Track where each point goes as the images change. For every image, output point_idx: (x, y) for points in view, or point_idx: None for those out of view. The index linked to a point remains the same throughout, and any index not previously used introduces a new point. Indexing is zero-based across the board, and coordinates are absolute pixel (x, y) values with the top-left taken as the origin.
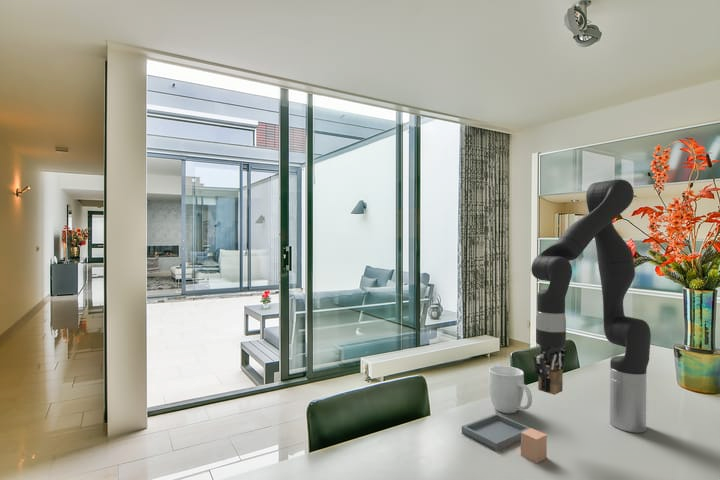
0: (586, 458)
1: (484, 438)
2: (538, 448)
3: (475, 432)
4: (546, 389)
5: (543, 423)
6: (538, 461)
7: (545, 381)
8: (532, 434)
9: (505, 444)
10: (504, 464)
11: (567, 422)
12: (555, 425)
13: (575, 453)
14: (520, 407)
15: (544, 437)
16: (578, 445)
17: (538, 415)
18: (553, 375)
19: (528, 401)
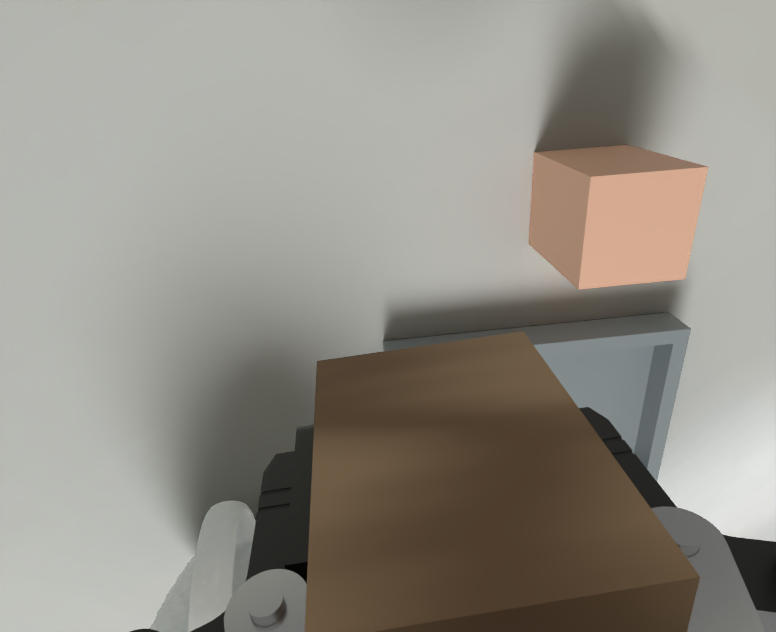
0: (343, 16)
1: (673, 388)
2: (650, 158)
3: (661, 439)
4: (599, 415)
5: (203, 395)
6: (611, 146)
7: (662, 499)
8: (657, 227)
9: (607, 324)
10: (753, 216)
11: (48, 349)
12: (155, 355)
13: (348, 92)
14: (249, 523)
15: (612, 172)
16: (241, 143)
17: (148, 461)
18: (656, 533)
19: (237, 527)
